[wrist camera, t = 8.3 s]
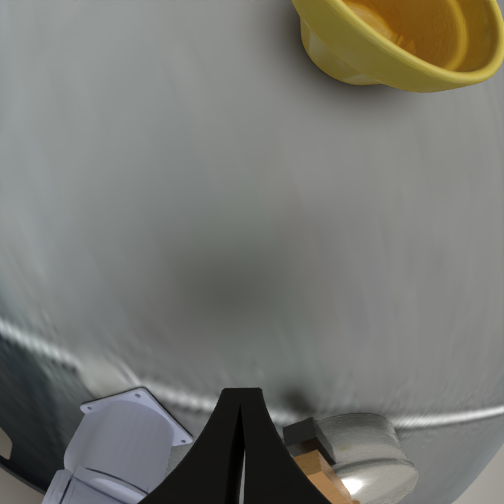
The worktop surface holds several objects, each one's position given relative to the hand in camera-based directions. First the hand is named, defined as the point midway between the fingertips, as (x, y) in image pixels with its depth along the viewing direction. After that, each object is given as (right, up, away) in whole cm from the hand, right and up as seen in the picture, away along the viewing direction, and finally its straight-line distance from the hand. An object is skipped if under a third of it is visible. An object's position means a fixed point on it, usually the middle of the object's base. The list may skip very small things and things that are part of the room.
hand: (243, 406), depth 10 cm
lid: (+8, -15, +9) cm, 20 cm away
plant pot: (+7, +19, +5) cm, 21 cm away
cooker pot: (+9, -16, +16) cm, 24 cm away
